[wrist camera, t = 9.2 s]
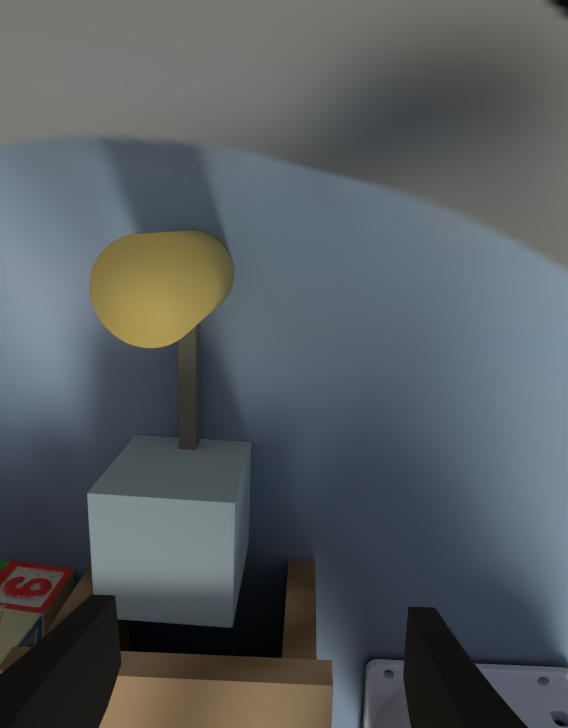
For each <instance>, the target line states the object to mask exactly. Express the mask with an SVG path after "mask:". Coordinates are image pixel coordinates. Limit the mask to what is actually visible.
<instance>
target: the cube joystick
mask: <svg viewBox="0 0 568 728" xmlns="http://www.w3.org/2000/svg"><path fill="white" fill-rule="evenodd" d="M233 278H234V269H233V263H232V260H231V257H230V255H229V253H228V251H227V250H226V248H225V247H224V246H223V245H222V243H220V242H219V241H218V240H217V239H216V238H214V237H213V236H211V235H209V234H207V233H205V232H201V231H196V230H185V231H171V232H156V233H142V234H133V235H128V236H125V237H122V238H120V239H118V240H116V241H114V242H113V243H111V244H110V245H109V246H107V247H106V248H105V249H104V250H103V251H102V253H101V254H100V255H99V257H98V258H97V260H96V262H95V264H94V266H93V269H92V273H91V278H90V296H91V301H92V304H93V307H94V310H95V312H96V314H97V316H98V318H99V319H100V321H101V322H102V324H103V325H104V326H105V327H106V328H107V329H108V330H109V331H110V332H111V333H112V334H113V335H114V336H116V337H117V338H119V339H120V340H122V341H124V342H126V343H128V344H131V345H133V346H137V347H142V348H159V347H164V346H167V345H170V344H172V343H175V342H176V341H178V436H179V437H166V436H150V435H135V436H134V437H133V438H132V439H131V441H130V442H129V443H128V444H127V446H126V447H125V448H124V449H123V450H122V452H121V453H120V454H119V455H118V456H117V458H116V459H115V460H114V461H113V462H112V464H111V465H110V466H109V467H108V468H107V470H106V471H105V472H104V473H103V475H102V476H101V477H100V478H99V479H98V481H97V482H96V483H95V484H94V485H93V487H92V488H91V489H90V490H89V491H88V493H87V501H88V517H89V533H90V549H91V565H92V581H93V595H115V598H116V609H117V619H122V620H135V621H148V622H161V623H174V624H188V625H201V626H214V627H227V628H232V627H233V622H234V617H235V612H236V607H237V602H238V596H239V591H240V586H241V581H242V576H243V571H244V566H245V561H246V555H247V550H248V545H249V516H250V483H251V450H252V442H246V441H230V440H214V439H199V330H200V322H201V321H202V320H203V319H204V318H205V317H206V316H207V315H208V314H210V313H211V312H212V311H213V310H214V309H215V308H216V307H217V306H218V305H220V304H221V303H222V302H223V301H224V299H225V298H226V297H227V295H228V294H229V292H230V290H231V287H232V284H233Z"/></svg>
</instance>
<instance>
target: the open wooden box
mask: <svg viewBox="0 0 568 728" xmlns="http://www.w3.org/2000/svg"><path fill="white" fill-rule="evenodd" d="M91 594H92V595H93V581H92V565H91V564H90V565H89V567H88V568H87V570H86V571H85V573H84V575H83V576H82V578H81V579H80V581H79V582H78V584H77V585H76V587H75V588H74V590H73V592H72V593H71V595H70V596H69V598H68V599H67V601H66V602H65V604H64V605H63V607H62V608H61V610H60V612H59V613H58V615H57V616H56V618H55V619H54V621H53V622H52V624H51V625H50V627H49V629H48V630H47V632H46V633H45V635H44V636H46V635H47V634H48V633H49V632H50V631H51V630H52V629H53V628H54V627H56V626H57V625H58V624H59V623H60V622H61V621H62V620H63V619H64V618H65V617H67V616H68V615H69V614H70V613H71V612H72V611H73V610H74V609H75V608H77V607H78V606H79V605H80V604H81V603H82V602H83V601H84V600H86V599H87V598H88V597H89V596H90V595H91ZM118 630H119V640H120V651H121V661H122V664H121V667H120V670H119V673H118V677H117V680H116V683H115V686H114V689H113V692H112V695H111V699H110V702H109V705H108V707H107V710H106V712H105V714H104V717H103V719H102V721H101V724H100V726H99V728H331V723H332V695H333V679H332V660H316V591H315V561H298V560H289V561H288V575H287V590H286V605H285V620H284V635H283V650H282V658H267V657H244V656H221V655H198V654H175V653H152V652H131V641H130V630H129V620H122V619H118ZM44 636H43V637H44ZM31 648H32V647H15V646H13V647H12V649H11V650H10V651H9V653H8V654H7V656H6V657H5V658H4V660H3V661H2V663H1V664H0V674H1V673H2V672H3V671H4V670H6V669H7V668H8V667H9V666H11V665H12V664H13V663H14V662H15V661H17V660H18V659H19V658H20V657H22V656H23V655H24V654H25V653H26V652H27V651H28V650H30V649H31Z"/></svg>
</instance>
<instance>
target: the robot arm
mask: <svg viewBox="0 0 568 728" xmlns="http://www.w3.org/2000/svg"><path fill="white" fill-rule="evenodd" d="M121 664H122V661H121V651H120V640H119V630H118V619H117V609H116V598H115V595H92V594H91V595H90V596H89V597H88V598H87V599H86V600H84V601H83V602H82V603H81V604H80V605H79V606H78V607H77V608H75V609H74V610H73V611H72V612H71V613H70V614H69V615H68V616H67V617H65V618H64V619H63V620H62V621H61V622H60V623H59V624H58V625H57V626H56V627H54V628H53V629H52V630H51V631H50V632H49V633H48V634H47V635H46V636H44V637H43V638H42V639H41V640H40V641H39V642H38V643H36V644H35V645H34V646H33V647H32V648H31V649H30V650H28V651H27V652H26V653H25V654H24V655H23V656H22V657H20V658H19V659H18V660H17V661H15V662H14V663H13V664H12V665H11V666H9V667H8V668H7V669H6V670H4V671H3V672H2V673H1V674H0V728H99V726H100V724H101V721H102V719H103V717H104V714H105V712H106V710H107V707H108V705H109V702H110V699H111V695H112V692H113V689H114V686H115V683H116V680H117V677H118V673H119V670H120V667H121ZM386 670H391V671H390V672H384V671H386ZM540 677H543V678H541V679H539V678H540ZM363 728H568V668H564V667H543V666H520V665H497V664H475V663H474V662H473V661H472V659H471V658H470V657H469V655H468V654H467V653H466V651H465V650H464V648H463V647H462V646H461V644H460V643H459V642H458V640H457V639H456V637H455V636H454V635H453V633H452V632H451V630H450V629H449V627H448V626H447V624H446V623H445V621H444V620H443V618H442V617H441V615H440V614H439V612H438V611H437V610H436V609H435V608H428V607H408V619H407V632H406V645H405V658H404V660H383V659H375V660H372V661H370V662H369V663H368V664H367V666H366V679H365V697H364V715H363Z"/></svg>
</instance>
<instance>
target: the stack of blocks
mask: <svg viewBox="0 0 568 728" xmlns="http://www.w3.org/2000/svg"><path fill="white" fill-rule="evenodd" d="M73 590H74V570H72V569H66V568H59V567H53V566H46V565H39V564H31V563H24V562H17V561H4V560H0V664H1V663H2V661H3V660H4V658H5V657H6V656H7V654H8V653H9V651H10V650H11V649H12V647H13V646H15V647H33V646H34V645H35V644H36V643H38V642H39V641H40V640H41V639H42V638H43V636H44V635H45V633H46V632H47V630H48V629H49V627H50V625H51V624H52V622H53V621H54V619H55V618H56V616H57V615H58V613H59V612H60V610H61V608H62V607H63V605H64V604H65V602H66V601H67V599H68V598H69V596H70V595H71V593H72V592H73Z"/></svg>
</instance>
